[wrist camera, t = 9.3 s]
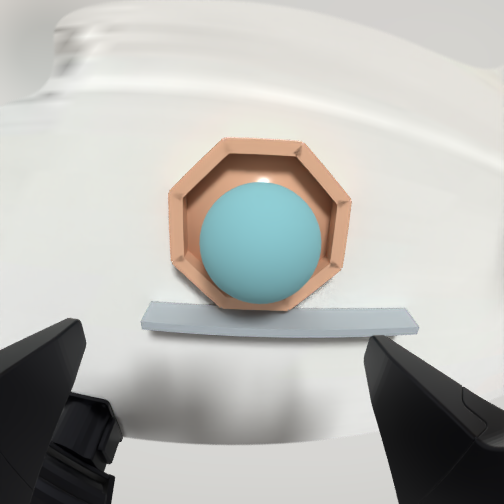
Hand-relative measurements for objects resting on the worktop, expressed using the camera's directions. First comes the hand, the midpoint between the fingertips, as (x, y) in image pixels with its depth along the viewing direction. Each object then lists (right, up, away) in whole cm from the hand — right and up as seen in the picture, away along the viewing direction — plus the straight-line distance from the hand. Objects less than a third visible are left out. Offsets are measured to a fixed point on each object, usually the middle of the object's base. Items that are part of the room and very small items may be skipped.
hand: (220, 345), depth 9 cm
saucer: (+1, +4, +10) cm, 11 cm away
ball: (+1, +3, +7) cm, 8 cm away
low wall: (+3, -1, +12) cm, 13 cm away
